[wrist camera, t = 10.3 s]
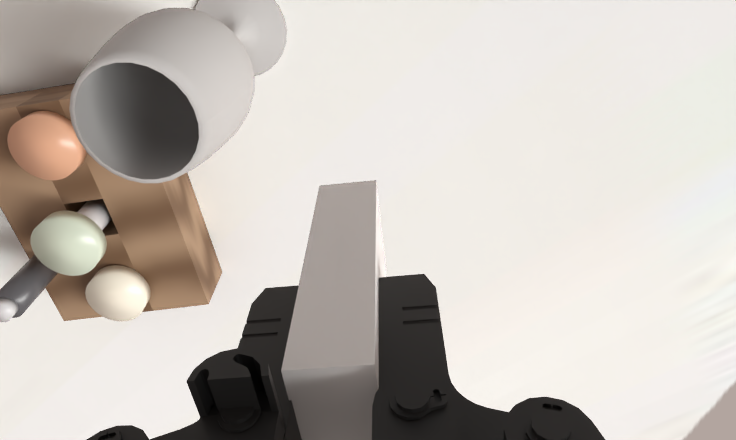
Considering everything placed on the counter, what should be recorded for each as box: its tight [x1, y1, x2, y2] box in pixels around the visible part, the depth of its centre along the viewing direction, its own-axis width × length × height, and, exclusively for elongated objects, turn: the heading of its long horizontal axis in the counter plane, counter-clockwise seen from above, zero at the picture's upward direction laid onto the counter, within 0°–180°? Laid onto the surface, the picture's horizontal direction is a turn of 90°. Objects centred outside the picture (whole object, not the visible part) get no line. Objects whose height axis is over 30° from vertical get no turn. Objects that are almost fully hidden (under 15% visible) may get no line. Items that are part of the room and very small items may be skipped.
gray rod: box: [0, 255, 58, 322], centre depth 45 cm, size 2×2×7 cm
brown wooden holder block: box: [0, 84, 222, 321], centre depth 48 cm, size 20×14×5 cm
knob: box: [85, 265, 150, 321], centre depth 50 cm, size 5×5×6 cm
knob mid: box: [31, 199, 112, 276], centre depth 44 cm, size 5×5×6 cm
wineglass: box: [69, 0, 287, 183], centre depth 33 cm, size 8×8×21 cm
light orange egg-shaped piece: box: [7, 111, 87, 180], centre depth 43 cm, size 5×5×6 cm
